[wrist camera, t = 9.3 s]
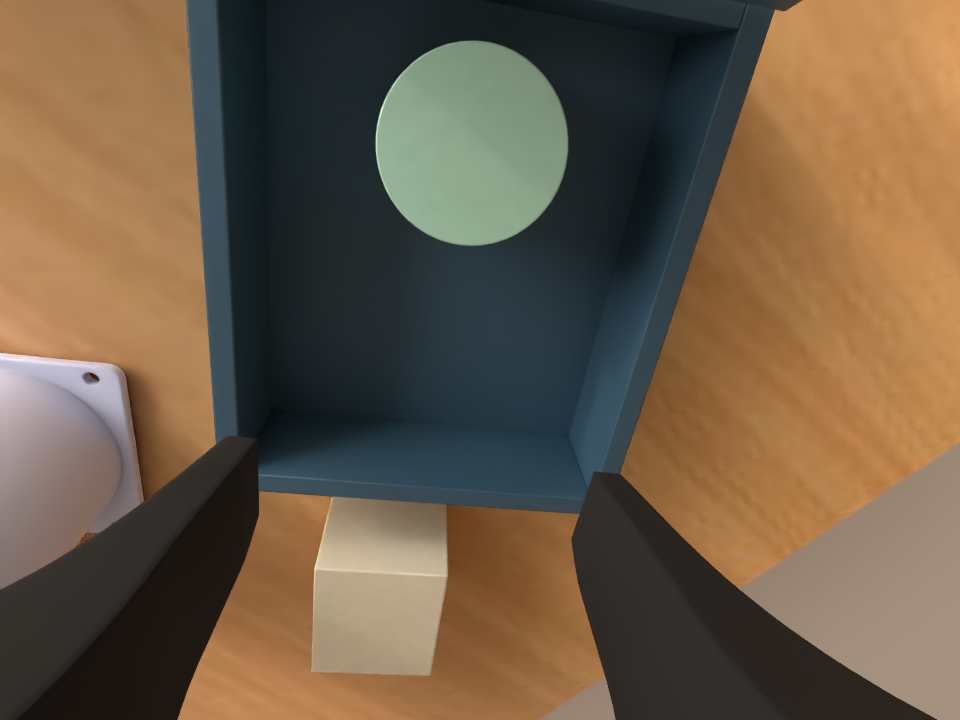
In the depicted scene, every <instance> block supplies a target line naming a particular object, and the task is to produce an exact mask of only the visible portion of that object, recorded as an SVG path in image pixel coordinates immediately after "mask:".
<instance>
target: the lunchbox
mask: <svg viewBox="0 0 960 720" xmlns="http://www.w3.org/2000/svg"><path fill="white" fill-rule="evenodd" d="M774 11H775V9H771V8H766V7H761V6H756V5H751V4H746V3H741V2H737V1H732V0H186V14H187V29H188V43H189V58H190V72H191V87H192V102H193V116H194V131H195V145H196V160H197V175H198V189H199V204H200V218H201V233H202V248H203V262H204V277H205V291H206V306H207V321H208V335H209V350H210V364H211V379H212V394H213V408H214V423H215V437H216V444H217V443H218V442H220V441H221V440H222V439H224V438H225V437H226V436H235V437H245V438H256V439H258V465H259V491H264V492H278V493H292V494H306V495H320V496H334V497H348V498H362V499H376V500H390V501H404V502H418V503H432V504H446V505H460V506H474V507H488V508H503V509H517V510H531V511H545V512H559V513H573V514H580V512H581V508H582V505H583V502H584V499H585V496H586V493H587V490H588V487H589V484H590V481H591V478H592V475H593V472H594V471H596V472H606V473H616V474H620V472H621V469H622V466H623V463H624V460H625V457H626V454H627V451H628V448H629V445H630V442H631V439H632V436H633V433H634V430H635V427H636V424H637V421H638V418H639V415H640V412H641V409H642V406H643V403H644V400H645V397H646V394H647V391H648V388H649V385H650V382H651V379H652V376H653V373H654V370H655V367H656V364H657V361H658V358H659V355H660V352H661V349H662V346H663V343H664V340H665V337H666V334H667V331H668V328H669V325H670V322H671V319H672V316H673V313H674V310H675V307H676V304H677V301H678V298H679V295H680V292H681V289H682V286H683V283H684V280H685V277H686V274H687V271H688V268H689V265H690V262H691V259H692V256H693V253H694V250H695V247H696V244H697V241H698V238H699V235H700V232H701V229H702V226H703V223H704V220H705V217H706V214H707V211H708V208H709V205H710V202H711V199H712V196H713V193H714V190H715V187H716V184H717V181H718V178H719V175H720V172H721V169H722V166H723V163H724V160H725V157H726V154H727V151H728V148H729V145H730V142H731V139H732V136H733V133H734V130H735V127H736V124H737V121H738V118H739V115H740V112H741V109H742V106H743V103H744V100H745V97H746V94H747V91H748V88H749V85H750V82H751V79H752V76H753V73H754V70H755V67H756V64H757V61H758V58H759V55H760V52H761V49H762V46H763V43H764V40H765V38H766V35H767V32H768V29H769V26H770V23H771V20H772V17H773V14H774ZM474 40H475V41H485V42H491V43H495V44H498V45H502V46H504V47H507V48H509V49H511V50H514V51H516V52H517V53H519V54H520V55H522V56H524V57H525V58H527V59H528V60H529V61H530V62H532V63H533V64H534V65H535V66H536V67H537V68H538V69H539V70H540V71H541V72H542V73H543V74H544V75H545V76H546V78H547V79H548V81H549V82H550V84H551V85H552V87H553V88H554V90H555V92H556V94H557V96H558V98H559V100H560V102H561V105H562V108H563V111H564V114H565V118H566V123H567V129H568V157H567V163H566V168H565V172H564V175H563V179H562V181H561V184H560V186H559V188H558V191H557V192H556V194H555V196H554V198H553V200H552V201H551V203H550V204H549V205H548V207H547V208H546V210H545V211H544V212H543V213H542V214H541V215H540V216H539V217H538V218H537V219H536V220H535V221H534V222H533V223H532V224H531V225H529V226H528V227H527V228H526V229H524V230H523V231H521V232H519V233H518V234H516V235H514V236H512V237H510V238H508V239H506V240H503V241H500V242H496V243H493V244H487V245H480V246H464V245H456V244H451V243H447V242H444V241H441V240H438V239H436V238H434V237H432V236H430V235H428V234H426V233H424V232H423V231H421V230H420V229H418V228H417V227H415V226H414V225H413V224H412V223H411V222H410V221H408V220H407V219H406V218H405V217H404V216H403V214H402V213H401V212H400V211H399V210H398V209H397V207H396V206H395V204H394V203H393V201H392V200H391V198H390V196H389V195H388V193H387V191H386V189H385V187H384V184H383V181H382V179H381V176H380V172H379V168H378V164H377V157H376V130H377V122H378V119H379V115H380V111H381V108H382V105H383V103H384V100H385V98H386V96H387V94H388V92H389V90H390V89H391V87H392V85H393V84H394V82H395V81H396V80H397V78H398V77H399V76H400V74H401V73H402V72H403V71H404V70H405V69H406V68H407V67H408V66H409V65H410V64H411V63H412V62H414V61H415V60H417V59H418V58H419V57H421V56H422V55H424V54H425V53H427V52H429V51H431V50H433V49H435V48H437V47H440V46H443V45H446V44H449V43H454V42H459V41H474Z"/></svg>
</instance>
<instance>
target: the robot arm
mask: <svg viewBox="0 0 960 720" xmlns="http://www.w3.org/2000/svg"><path fill="white" fill-rule="evenodd" d="M89 372H91V373H94V374H95V375H97V376H98V378H99V380H97V379H94V378H93V377H91V376H90V374H89ZM258 516H259V465H258V439H256V438H245V437H235V436H226V437H225V438H224V439H222V440H221V441H220V442H218V443H217V444H216V445H215V446H213V447H212V448H211V449H210V450H209V451H207V452H206V453H205V454H204V455H202V456H201V457H200V458H199V459H198V460H196V461H195V462H194V463H193V464H191V465H190V466H189V467H188V468H187V469H185V470H184V471H183V472H182V473H180V474H179V475H178V476H177V477H175V478H174V479H173V480H171V481H170V482H169V483H168V484H166V485H165V486H164V487H162V488H161V489H160V490H158V491H157V492H156V493H155V494H153V495H152V496H151V497H149V498H148V499H147V500H145V501H144V497H143V490H142V483H141V476H140V470H139V463H138V456H137V449H136V442H135V435H134V429H133V422H132V415H131V408H130V401H129V395H128V388H127V381H126V376H125V373H124V372H123V370H122V369H121V368H119V367H118V366H116V365H113V364H109V363H99V362H88V361H78V360H68V359H58V358H47V357H37V356H27V355H16V354H6V353H0V720H177V719H178V716H179V713H180V710H181V708H182V705H183V702H184V699H185V696H186V693H187V690H188V688H189V685H190V683H191V680H192V678H193V675H194V673H195V670H196V668H197V665H198V663H199V661H200V659H201V656H202V654H203V652H204V650H205V648H206V645H207V643H208V641H209V639H210V637H211V634H212V632H213V630H214V628H215V626H216V623H217V621H218V619H219V617H220V615H221V612H222V610H223V608H224V606H225V604H226V601H227V599H228V597H229V595H230V592H231V590H232V588H233V586H234V583H235V581H236V579H237V577H238V575H239V572H240V570H241V568H242V565H243V563H244V561H245V558H246V555H247V552H248V549H249V546H250V543H251V539H252V536H253V533H254V529H255V526H256V523H257V520H258ZM86 532H88V533H98V534H97V535H95V536H94V537H92V538H91V539H89V540H88V541H86V542H84V543H83V544H81V545H80V546H78V547H76V545H77V544H78V543H79V541H80V540H81V539H82V537H83V536H84V535H85V533H86ZM571 540H572V547H573V554H574V561H575V568H576V573H577V579H578V584H579V588H580V592H581V595H582V599H583V602H584V606H585V609H586V613H587V616H588V619H589V623H590V626H591V630H592V633H593V636H594V640H595V643H596V647H597V650H598V653H599V657H600V660H601V663H602V667H603V670H604V674H605V677H606V680H607V684H608V688H609V692H610V696H611V700H612V704H613V709H614V714H615V718H616V720H937V719H935V718H933V717H931V716H930V715H928V714H926V713H924V712H922V711H920V710H919V709H917V708H915V707H913V706H911V705H909V704H907V703H906V702H904V701H902V700H900V699H898V698H896V697H895V696H893V695H891V694H890V693H888V692H886V691H884V690H882V689H881V688H880V687H878V686H876V685H874V684H873V683H871V682H870V681H868V680H866V679H865V678H863V677H862V676H860V675H858V674H857V673H855V672H853V671H851V670H850V669H848V668H847V667H845V666H844V665H842V664H841V663H839V662H838V661H836V660H835V659H833V658H831V657H830V656H828V655H827V654H825V653H824V652H822V651H821V650H819V649H818V648H817V647H815V646H814V645H812V644H811V643H809V642H808V641H807V640H805V639H804V638H802V637H801V636H799V635H798V634H796V633H795V632H794V631H792V630H791V629H789V628H788V627H787V626H785V625H784V624H783V623H781V622H780V621H778V620H777V619H776V618H775V617H773V616H772V615H771V614H769V613H768V612H767V611H765V610H764V609H763V608H762V607H760V606H759V605H758V604H757V603H755V602H754V601H753V600H752V599H750V598H749V597H748V596H747V595H745V594H744V593H743V592H742V591H740V590H739V589H738V588H737V587H736V586H735V585H733V584H732V583H731V582H730V581H729V580H728V579H726V578H725V577H724V576H723V575H722V574H721V573H720V572H719V571H718V570H716V569H715V568H714V567H713V566H712V565H711V564H710V563H709V562H708V561H707V560H705V559H704V558H703V557H702V556H701V555H700V554H699V553H698V552H697V551H696V550H695V549H694V548H693V547H692V546H691V545H690V544H689V543H688V542H687V541H686V540H684V539H683V538H682V537H681V536H680V535H679V534H678V533H677V532H676V531H675V530H674V529H673V528H672V527H671V526H670V524H669V523H668V522H667V521H666V520H665V519H664V518H663V517H662V516H661V515H660V514H659V513H658V512H657V511H656V510H655V509H654V508H653V507H652V506H651V505H650V504H649V503H648V502H647V501H646V500H645V499H644V498H643V497H642V495H641V494H640V493H639V492H638V491H637V490H636V489H635V488H634V487H633V486H632V485H631V484H630V483H629V482H628V481H627V480H626V479H625V478H624V477H623V476H622V475H620V474H616V473H606V472H596V471H594V472H593V475H592V478H591V481H590V484H589V487H588V490H587V493H586V496H585V499H584V502H583V505H582V508H581V512H580V515H579V518H578V521H577V524H576V527H575V530H574V533H573V536H572V539H571ZM75 547H76V548H75ZM74 548H75V549H74Z"/></svg>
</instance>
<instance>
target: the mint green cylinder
mask: <svg viewBox="0 0 960 720" xmlns="http://www.w3.org/2000/svg"><path fill="white" fill-rule="evenodd" d="M376 157H377V164H378V168H379V172H380V176H381V179H382V181H383V184H384V187H385V189H386V191H387V193H388V195H389V196H390V198H391V200H392V201H393V203H394V204H395V206H396V207H397V209H398V210H399V211H400V212H401V213H402V214H403V216H404V217H405V218H406V219H407V220H408V221H410V222H411V223H412V224H413V225H414V226H415V227H417V228H418V229H420V230H421V231H423V232H424V233H426V234H428V235H430V236H432V237H434V238H436V239H438V240H441V241H444V242H447V243H451V244H456V245H464V246H480V245H487V244H493V243H496V242H500V241H503V240H506V239H508V238H510V237H512V236H514V235H516V234H518V233H519V232H521V231H523V230H524V229H526V228H527V227H528V226H529V225H531V224H532V223H533V222H534V221H535V220H536V219H537V218H538V217H539V216H540V215H541V214H542V213H543V212H544V211H545V210H546V208H547V207H548V205H549V204H550V203H551V201H552V200H553V198H554V196H555V194H556V192H557V191H558V188H559V186H560V184H561V181H562V179H563V175H564V172H565V168H566V163H567V157H568V129H567V123H566V118H565V114H564V111H563V108H562V105H561V102H560V100H559V98H558V96H557V94H556V92H555V90H554V88H553V87H552V85H551V84H550V82H549V81H548V79H547V78H546V76H545V75H544V74H543V73H542V72H541V71H540V70H539V69H538V68H537V67H536V66H535V65H534V64H533V63H532V62H530V61H529V60H528V59H527V58H525V57H524V56H522V55H520V54H519V53H517V52H516V51H514V50H511V49H509V48H507V47H504V46H502V45H498V44H495V43H491V42H485V41H475V40H474V41H459V42H454V43H449V44H446V45H443V46H440V47H437V48H435V49H433V50H431V51H429V52H427V53H425V54H424V55H422V56H421V57H419V58H418V59H417V60H415V61H414V62H412V63H411V64H410V65H409V66H408V67H407V68H406V69H405V70H404V71H403V72H402V73H401V74H400V76H399V77H398V78H397V80H396V81H395V82H394V84H393V85H392V87H391V89H390V90H389V92H388V94H387V96H386V98H385V100H384V103H383V105H382V108H381V111H380V115H379V119H378V122H377V130H376Z"/></svg>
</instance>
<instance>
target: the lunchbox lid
mask: <svg viewBox="0 0 960 720" xmlns="http://www.w3.org/2000/svg"><path fill="white" fill-rule="evenodd" d="M732 1H737V2H741V3H746V4H751V5H756V6H761V7H766V8H771V9H775V10H780V11H786V10H788V9H789V8H791V7H792V6H794V5H796V4H797V3H799V2H801V1H802V0H732Z"/></svg>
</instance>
